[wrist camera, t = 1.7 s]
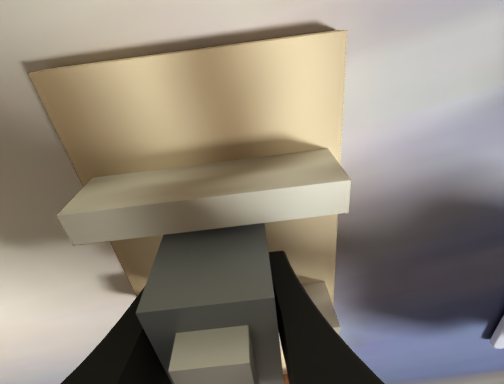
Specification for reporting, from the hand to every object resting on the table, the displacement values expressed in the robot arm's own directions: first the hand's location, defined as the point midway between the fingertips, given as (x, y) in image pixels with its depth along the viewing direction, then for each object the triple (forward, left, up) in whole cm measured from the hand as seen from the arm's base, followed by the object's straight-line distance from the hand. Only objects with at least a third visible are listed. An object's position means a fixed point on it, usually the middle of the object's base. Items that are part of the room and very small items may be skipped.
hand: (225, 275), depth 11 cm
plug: (0, 0, -2) cm, 2 cm away
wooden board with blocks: (0, +8, -3) cm, 8 cm away
